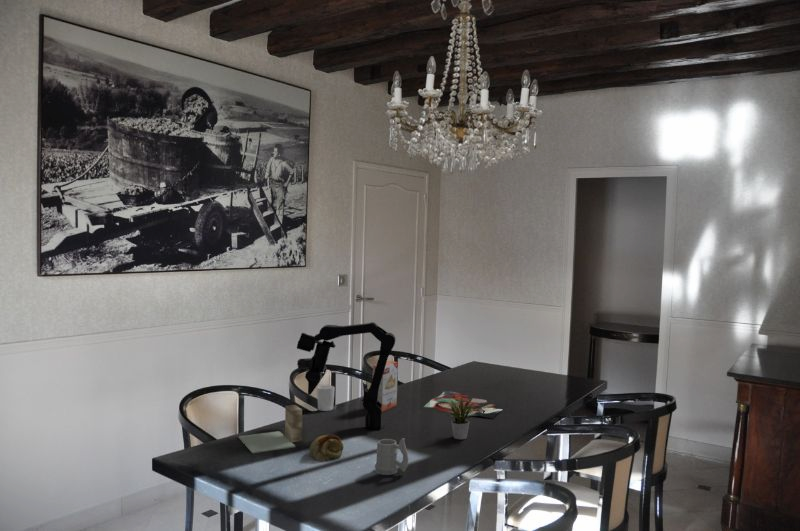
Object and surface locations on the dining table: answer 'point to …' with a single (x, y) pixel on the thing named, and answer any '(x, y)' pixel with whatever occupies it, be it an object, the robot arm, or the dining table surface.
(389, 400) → the cracker box
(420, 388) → the dining table surface
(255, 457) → the dining table surface
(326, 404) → the white cup
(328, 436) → the pastry
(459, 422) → the house plant
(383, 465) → the mug
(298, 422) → the tan rounded block
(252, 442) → the mat
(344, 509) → the dining table surface
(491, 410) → the multicolor patterned cloth
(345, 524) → the dining table surface
